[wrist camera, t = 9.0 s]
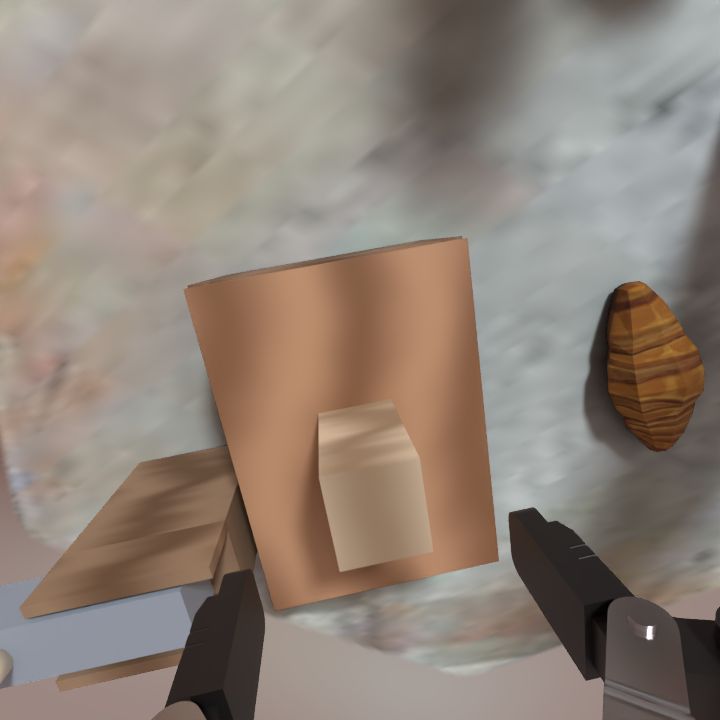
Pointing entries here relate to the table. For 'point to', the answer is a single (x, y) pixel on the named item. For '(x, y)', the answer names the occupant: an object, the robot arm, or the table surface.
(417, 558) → the lid
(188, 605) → the drawer
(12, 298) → the table surface
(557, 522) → the robot arm
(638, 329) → the croissant
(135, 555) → the toolbox
